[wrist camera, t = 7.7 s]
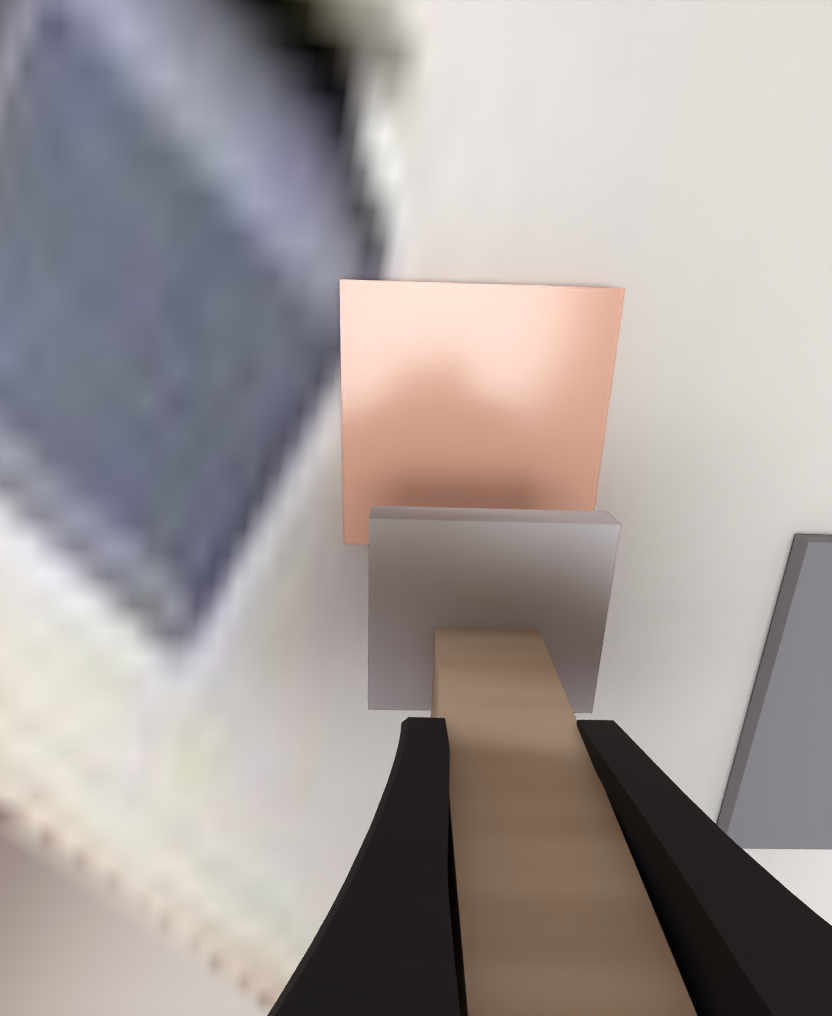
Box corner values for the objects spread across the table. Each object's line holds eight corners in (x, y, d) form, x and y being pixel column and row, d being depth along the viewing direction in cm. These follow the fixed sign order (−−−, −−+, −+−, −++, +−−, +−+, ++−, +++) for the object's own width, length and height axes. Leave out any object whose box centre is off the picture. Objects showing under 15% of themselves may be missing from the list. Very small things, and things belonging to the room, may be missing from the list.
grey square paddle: (581, 694, 14) (793, 1165, 6) (370, 690, 14) (323, 1165, 6) (607, 511, 12) (928, 834, 5) (371, 505, 12) (309, 829, 5)
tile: (588, 549, 17) (625, 288, 14) (343, 543, 16) (339, 279, 14) (575, 531, 18) (607, 288, 16) (348, 526, 18) (345, 280, 15)
